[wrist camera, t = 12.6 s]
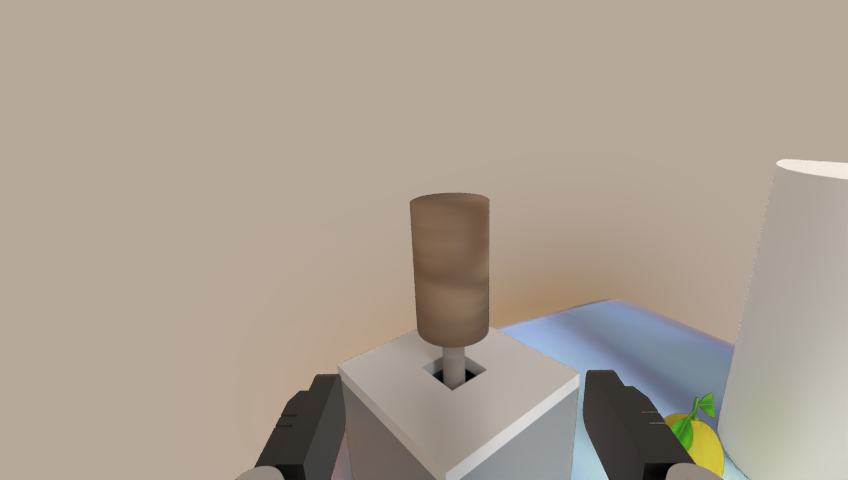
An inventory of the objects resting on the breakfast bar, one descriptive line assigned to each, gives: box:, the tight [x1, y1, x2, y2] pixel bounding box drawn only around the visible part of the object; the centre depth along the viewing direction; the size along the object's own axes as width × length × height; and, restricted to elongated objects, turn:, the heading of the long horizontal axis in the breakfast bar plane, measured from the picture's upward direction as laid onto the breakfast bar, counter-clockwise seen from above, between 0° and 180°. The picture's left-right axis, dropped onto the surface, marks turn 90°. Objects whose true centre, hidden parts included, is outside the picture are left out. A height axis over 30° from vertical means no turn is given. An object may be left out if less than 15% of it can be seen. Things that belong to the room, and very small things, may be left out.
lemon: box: [664, 393, 724, 478], centre depth 35 cm, size 7×6×10 cm
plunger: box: [410, 193, 489, 391], centre depth 26 cm, size 8×8×27 cm
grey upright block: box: [337, 326, 580, 480], centre depth 28 cm, size 11×11×18 cm
